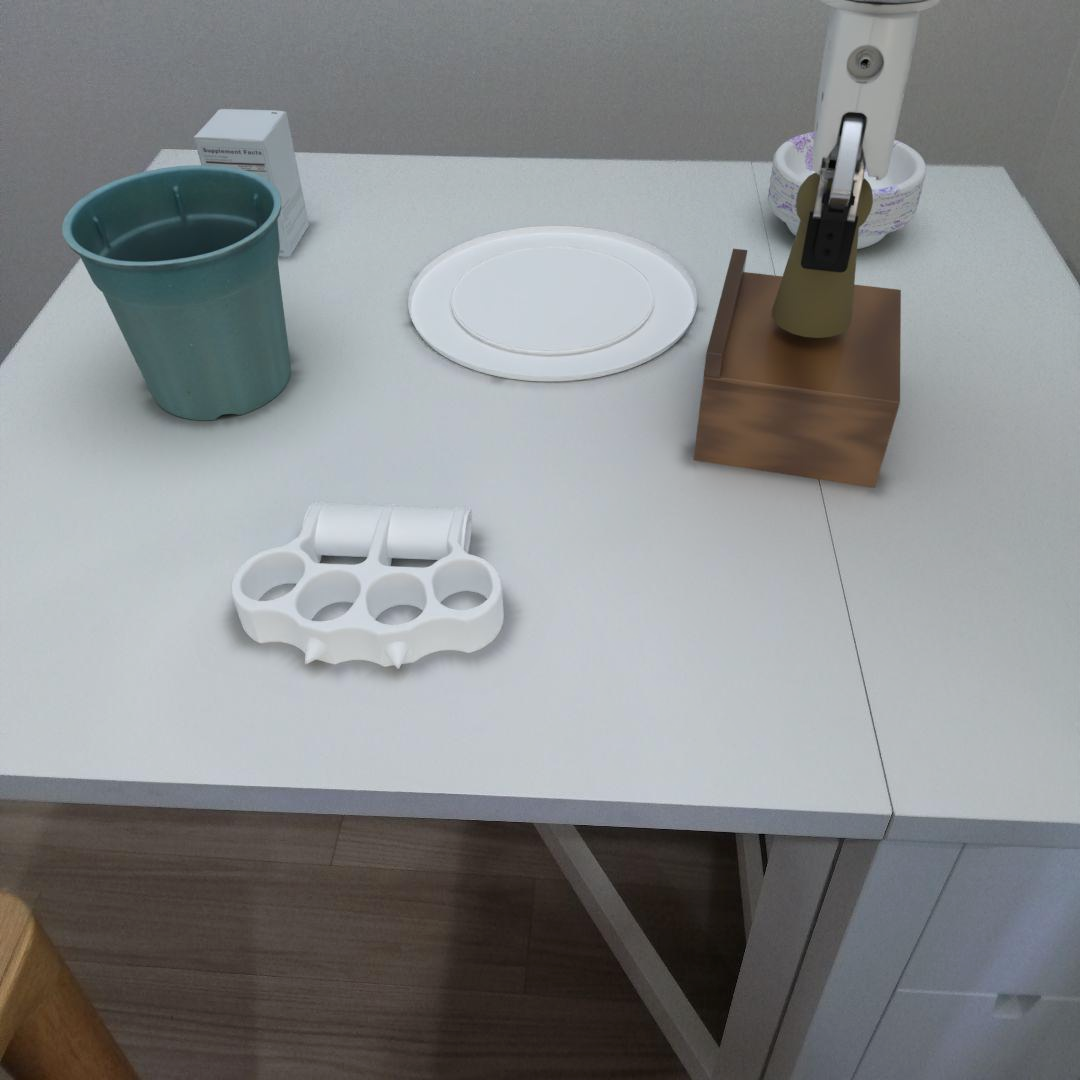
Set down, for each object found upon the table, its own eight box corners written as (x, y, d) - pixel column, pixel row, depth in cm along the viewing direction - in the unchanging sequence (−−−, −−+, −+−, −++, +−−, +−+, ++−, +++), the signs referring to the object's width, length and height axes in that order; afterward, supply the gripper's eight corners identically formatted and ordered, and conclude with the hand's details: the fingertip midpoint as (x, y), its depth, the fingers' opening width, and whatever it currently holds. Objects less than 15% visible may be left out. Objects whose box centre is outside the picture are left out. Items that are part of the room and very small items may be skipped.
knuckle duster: (515, 531, 72) (494, 690, 62) (278, 521, 74) (218, 676, 63) (514, 497, 70) (492, 657, 60) (268, 488, 71) (204, 643, 61)
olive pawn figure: (764, 329, 74) (787, 189, 66) (778, 290, 78) (802, 154, 70) (845, 343, 72) (879, 201, 65) (856, 303, 76) (888, 165, 69)
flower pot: (343, 401, 84) (310, 226, 73) (152, 463, 79) (84, 283, 68) (282, 314, 95) (245, 149, 83) (109, 363, 89) (44, 193, 78)
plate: (757, 307, 94) (758, 301, 93) (528, 423, 81) (528, 416, 81) (569, 207, 110) (569, 201, 109) (354, 291, 97) (353, 285, 97)
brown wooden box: (878, 372, 86) (907, 267, 79) (874, 489, 75) (907, 379, 68) (719, 351, 89) (733, 248, 82) (693, 461, 78) (706, 352, 71)
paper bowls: (799, 274, 98) (813, 199, 93) (741, 208, 109) (751, 136, 103) (936, 254, 101) (957, 180, 95) (867, 191, 111) (883, 121, 106)
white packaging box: (247, 223, 108) (219, 106, 100) (311, 226, 108) (288, 109, 99) (222, 255, 103) (190, 135, 94) (290, 259, 102) (264, 138, 94)
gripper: (951, 16, 52) (876, 315, 65) (942, -64, 64) (880, 202, 76) (807, 8, 53) (761, 302, 66) (825, -69, 65) (783, 193, 78)
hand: (825, 246), depth 71 cm, fingers closed on olive pawn figure, 5 cm apart
